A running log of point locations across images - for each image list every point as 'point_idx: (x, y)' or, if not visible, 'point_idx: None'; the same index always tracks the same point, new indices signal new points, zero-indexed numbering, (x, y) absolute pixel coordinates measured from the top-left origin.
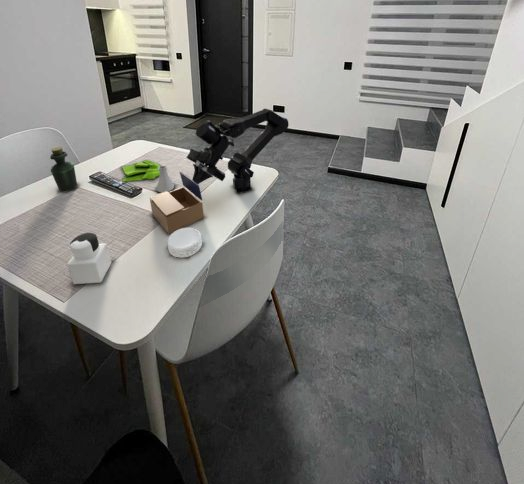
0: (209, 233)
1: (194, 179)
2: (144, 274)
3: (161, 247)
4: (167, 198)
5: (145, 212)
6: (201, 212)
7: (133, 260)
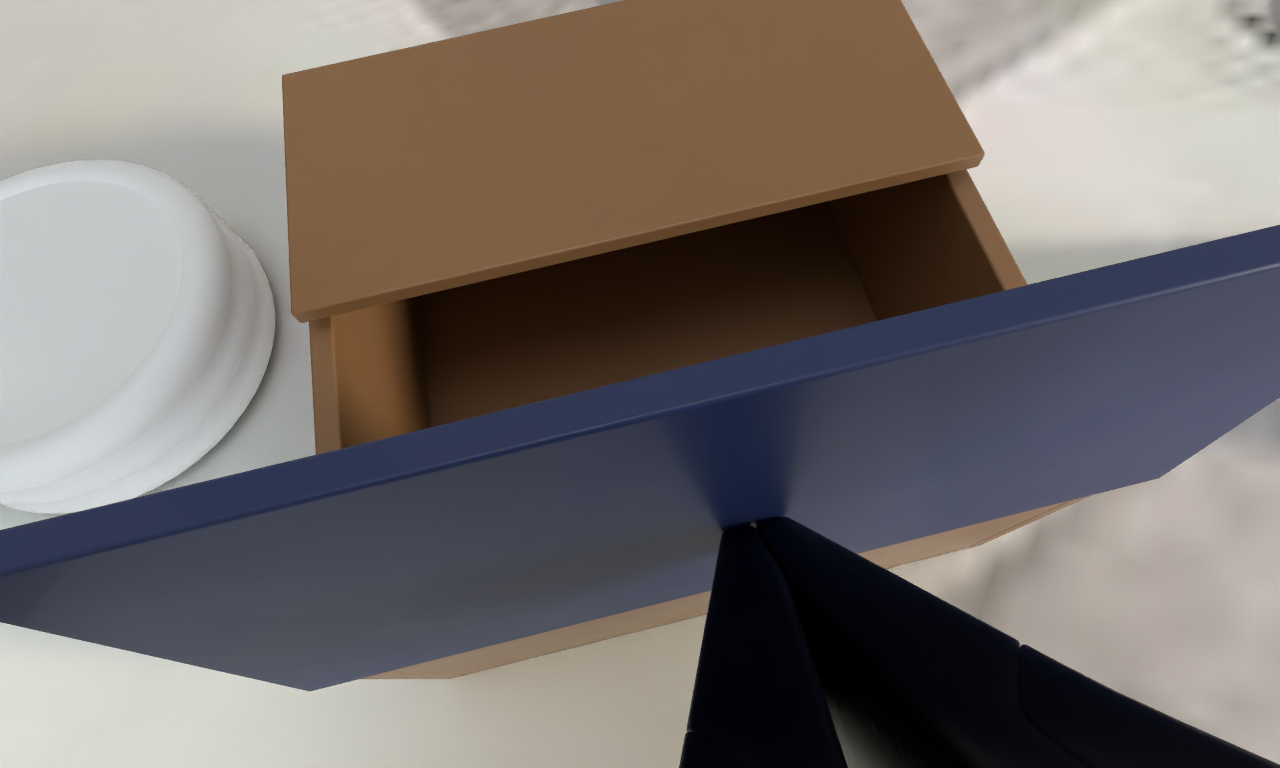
0: None
1: (790, 637)
2: (82, 63)
3: (265, 179)
4: (719, 134)
5: None
6: None
7: (267, 13)
